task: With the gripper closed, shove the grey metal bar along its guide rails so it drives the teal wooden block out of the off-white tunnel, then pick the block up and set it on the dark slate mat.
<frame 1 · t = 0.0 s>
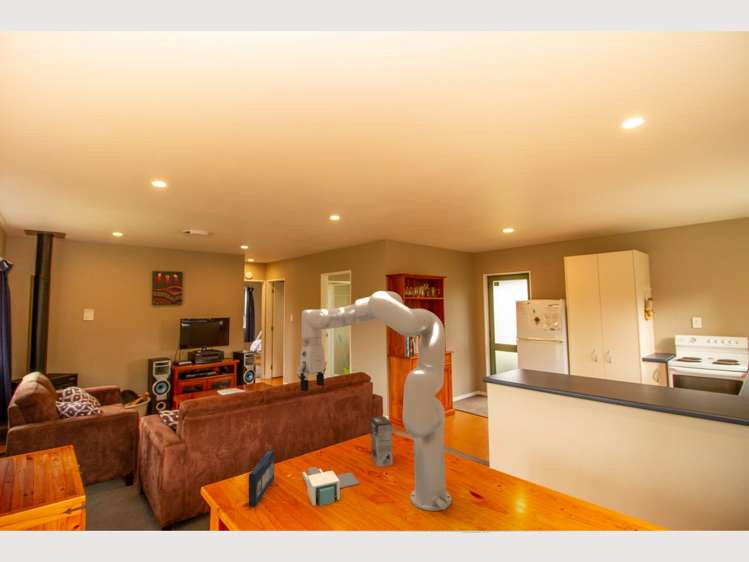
hand: (312, 388, 135), 31 cm above the table, tool pointing down, fingers open, 9 cm apart
coffee box: (381, 461, 142), on the table
vhs cassette tape: (262, 492, 121), on the table
mat: (343, 481, 127), on the table
white box: (323, 496, 117), on the table
rod: (317, 486, 124), on the table
block: (325, 500, 114), on the table
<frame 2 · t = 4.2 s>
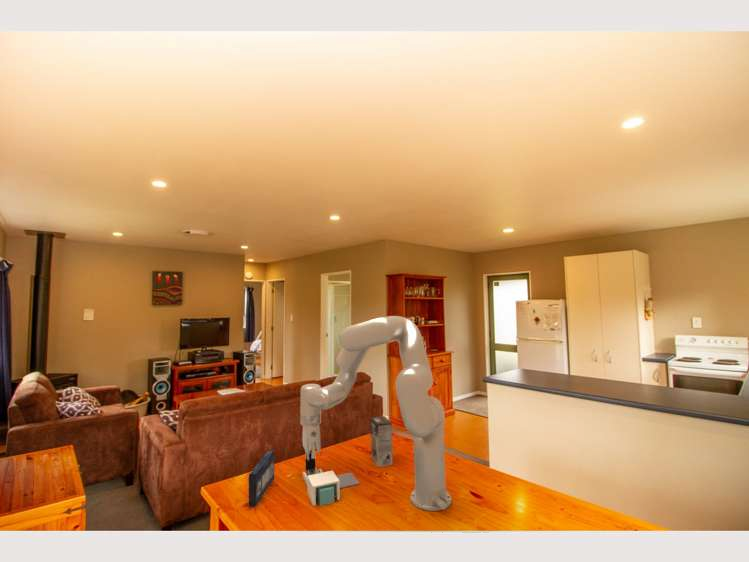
hand: (310, 470, 131), 2 cm above the table, tool pointing down, fingers closed
rod: (317, 487, 123), on the table, touching gripper
everything else where it was.
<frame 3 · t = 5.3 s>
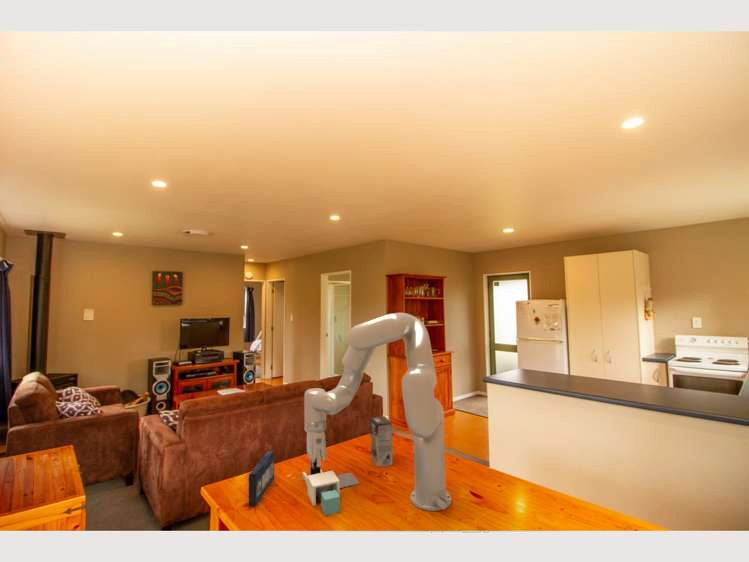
hand: (315, 478, 125), 2 cm above the table, tool pointing down, fingers closed
rod: (322, 495, 117), on the table, touching gripper
block: (330, 510, 109), on the table
everything else where it was.
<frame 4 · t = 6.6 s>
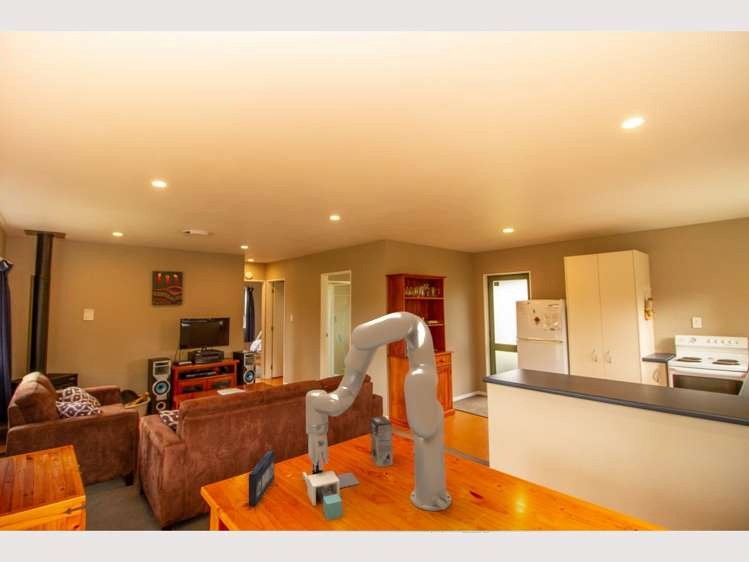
hand: (317, 482, 123), 2 cm above the table, tool pointing down, fingers closed
rod: (325, 500, 115), on the table
block: (332, 514, 106), on the table
everything else where it was.
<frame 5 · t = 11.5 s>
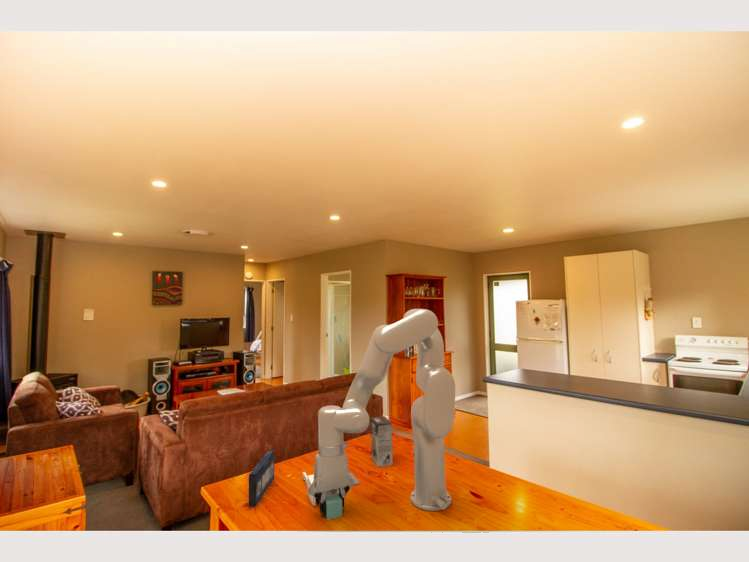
hand: (332, 511, 107), 0 cm above the table, tool pointing down, fingers closed on block, 4 cm apart
block: (332, 514, 107), on the table, touching gripper
everything else where it was.
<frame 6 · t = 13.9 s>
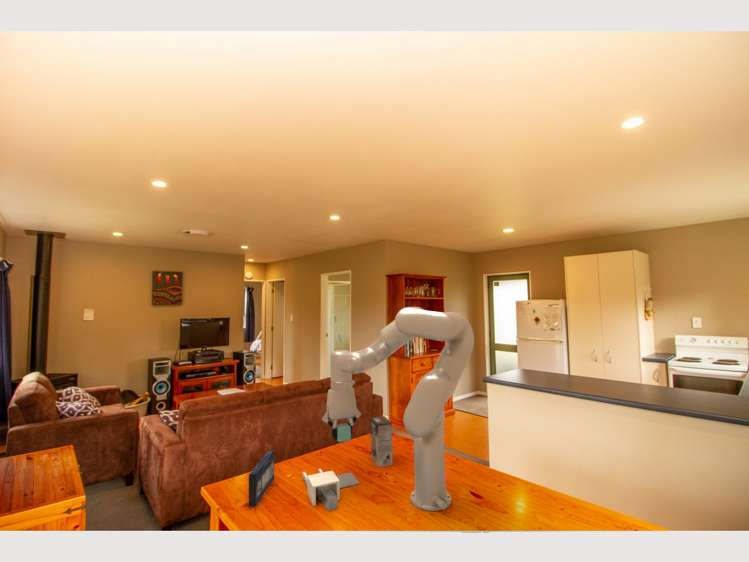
hand: (342, 437, 128), 15 cm above the table, tool pointing down, fingers closed on block, 4 cm apart
block: (342, 439, 127), point 15 cm above the table, touching gripper
everything else where it was.
when the fingers open (2 cm above the table, at t = 16.6 s): block drops 1 cm, resting on mat.
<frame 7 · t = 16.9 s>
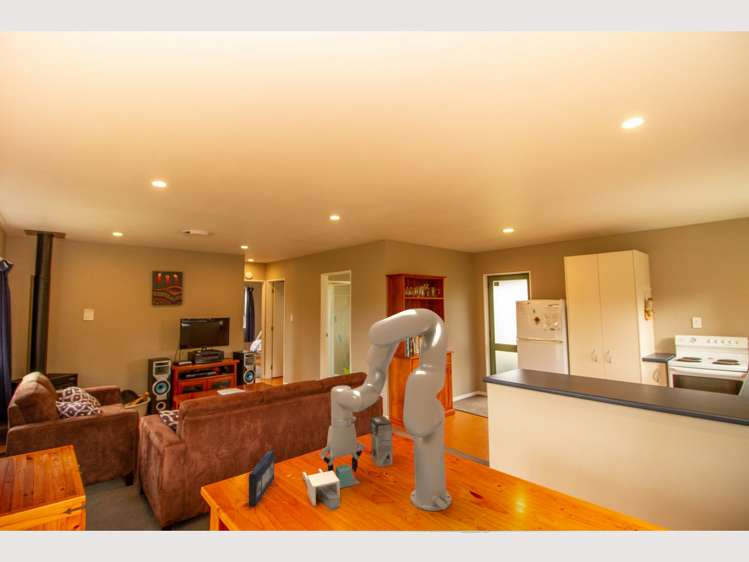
hand: (342, 472, 127), 3 cm above the table, tool pointing down, fingers open, 8 cm apart
block: (343, 481, 126), resting on mat
everything else where it was.
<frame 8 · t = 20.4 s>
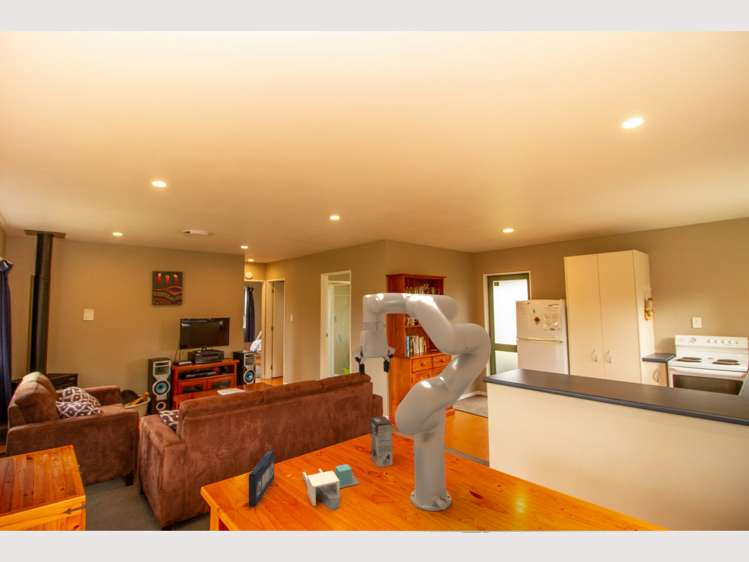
hand: (374, 373, 134), 36 cm above the table, tool pointing down, fingers open, 9 cm apart
nothing on the table moved.
at the end: block inside the target area on the mat (0.6 cm from its centre), point 0.4 cm above the mat's base; block tilted 0°; block touching mat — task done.
